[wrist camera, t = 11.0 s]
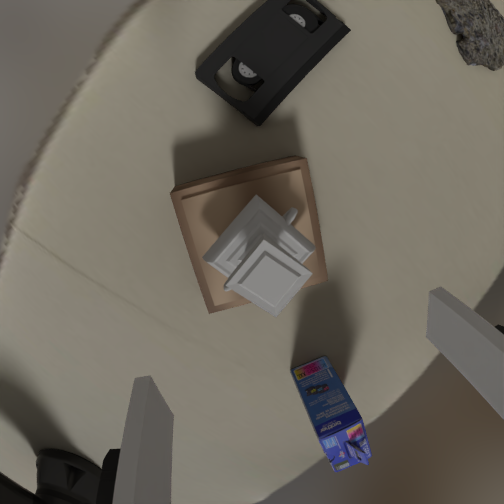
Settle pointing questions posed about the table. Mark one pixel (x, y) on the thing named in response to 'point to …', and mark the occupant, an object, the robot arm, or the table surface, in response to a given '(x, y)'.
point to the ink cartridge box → (332, 414)
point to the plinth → (228, 208)
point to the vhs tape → (273, 53)
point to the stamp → (262, 256)
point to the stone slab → (477, 31)
